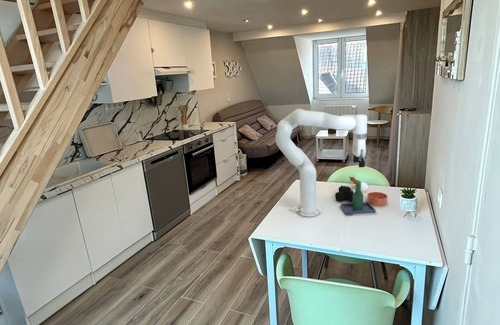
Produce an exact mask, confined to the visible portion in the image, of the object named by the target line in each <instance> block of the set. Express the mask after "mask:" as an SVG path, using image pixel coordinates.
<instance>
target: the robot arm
mask: <svg viewBox="0 0 500 325" xmlns="http://www.w3.org/2000/svg"><path fill="white" fill-rule="evenodd" d="M298 126H305V127H317V128H324V129H332V130H337V131H352V147H351V149H352V150H351V153H352V155H353V158H352V160H353V161H352V162H353V163H354V164H356V163H358V168H365V164H366V153H367V150H366V149H367V146H366V140H367V139H368V138H367V137H368V135H367V134H368V115H366V114H363V113H360V114H342V115H334V114H331V113H327V112H325V111H316V110H315V111H314V110H306V109H302V108H297V109H294V110H293V111H292V112H290V113H289V114H288V115H286V116H285V117H284V118H282V119H281V120H280V121H279V122H278V123H277V124H276V130H277V131H276V133H275V144H276V145H277V148H278V149H279V150H280V151H281V152H282V154H283V155H284V156H285V157H286V159H287V160H288V161H289V163H290V164H291V165H293V166H294V167H295V168H296V169H297V171H298V174H299V194H300V196H299V198H300V199H299V200H300V202H299V203H300V204H299V205H297V206H292V210H293V211H295V212H297V213H298V215H300V216H302V217H306V218H309V217H316V216H318V215H319V213H320V210H319V208H317V169H316V166H315V165H314V163H313V162H312V161H311V160H310V158H309V157H308V156H307V155H306V154H305V152H304V151H303V150H302V149H301V148H300V147H299V146H296V144H295V143H294V142H293V141H292V139H291V135H292V133H293V130H294V129H295V128H296V127H298Z"/></svg>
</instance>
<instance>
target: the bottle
mask: <svg viewBox="0 0 500 325" xmlns="http://www.w3.org/2000/svg"><path fill="white" fill-rule="evenodd" d="M361 183H362V182H361V181H360V182H356V185H355V186H356V187H355V190H354V193H353V202H352V203H353V210H354V211H361V210H363V202H364V192H361Z"/></svg>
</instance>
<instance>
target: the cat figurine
mask: <svg viewBox="0 0 500 325" xmlns="http://www.w3.org/2000/svg"><path fill="white" fill-rule="evenodd" d="M348 177H349V180H350V182H352V183H353V184H354V186H352V187H350V189H351V191H353V189H356V182H361V180H359V179H356V174H353V176H350V175H349V176H348ZM368 190H369V186H368V183H366V182H361V192H362V193H365V192H367V191H368Z"/></svg>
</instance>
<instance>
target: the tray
mask: <svg viewBox="0 0 500 325" xmlns="http://www.w3.org/2000/svg"><path fill="white" fill-rule="evenodd" d="M340 208H341V210H342V211H343V213H344V214H345V216H353V215H363V214H375V213H376V208H374V206H372V205H371V204H370V203H369V202H367V201H363V210H361V211H354V210H353V202H344V203H343V202H342V203H340Z"/></svg>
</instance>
